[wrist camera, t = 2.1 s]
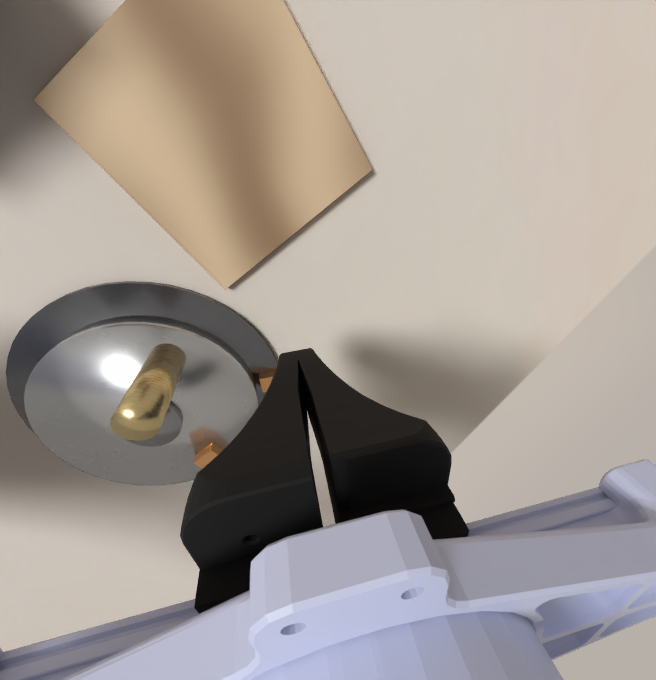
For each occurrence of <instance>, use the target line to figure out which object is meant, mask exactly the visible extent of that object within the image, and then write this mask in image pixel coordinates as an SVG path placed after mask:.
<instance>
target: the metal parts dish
mask: <svg viewBox="0 0 656 680" xmlns="http://www.w3.org/2000/svg"><path fill="white" fill-rule="evenodd" d="M131 315H143V316H157V317H165V318H170V319H174V320H179V321H182V322H185V323H189V324H192V325H195V326H197V327H199V328H201V329H204V330H206V331H208V332H210V333H211V334H213V335H215V336H217V337H218V338H220V339H221V340H223V341H224V342H225V343H227V344H228V345H229V346H231V347H232V348H233V349H234V350H235V351H236V352H237V353H238V354H239V355H240V356H241V358H242V359H243V360H244V361H245V363H246V364H247V366H248V367H249V369H250V371H251V373H252V374H253V377H254V380H255V383H256V387H257V392H258V406H259V404H260V403H261V401H262V399H263V397H264V395H265V393H266V392H267V390H268V388H269V386H270V383H271V381H272V378H273V376H274V374H275V371H276V368H277V365H278V364H277V361H276V359H275V357H274V355H273V352H272V350H271V349H270V347H269V346H268V344H267V343H266V341H265V340H264V338H263V337H262V336H261V335H260V334H259V333H258V332H257V330H256V329H255V328H254V327H253V326H252V325H251V324H250V323H248V322H247V321H246V320H245V319H244V318H243V317H241V316H240V315H239V314H237V313H236V312H234V311H233V310H231V309H230V308H228V307H227V306H225V305H223V304H221V303H219V302H217V301H215V300H213V299H211V298H209V297H207V296H204V295H202V294H199V293H196V292H194V291H191V290H188V289H184V288H180V287H176V286H172V285H166V284H159V283H152V282H131V281H126V282H115V283H105V284H100V285H96V286H91V287H86V288H83V289H80V290H78V291H75V292H72V293H69V294H67V295H65V296H63V297H61V298H59V299H57V300H55V301H53V302H52V303H50V304H48V305H47V306H45V307H44V308H43V309H41V310H40V311H39V312H37V313H36V314H35V315H34V316H32V317H31V318H30V319H29V321H28V322H27V323H26V324H25V325H24V326H23V327H22V328H21V329H20V331H19V333H18V334H17V336H16V338H15V340H14V341H13V343H12V346H11V349H10V352H9V355H8V359H7V368H6V376H7V386H8V389H9V393H10V396H11V399H12V402H13V404H14V406H15V407H16V409H17V411H18V413H19V415H20V416H21V418H22V419H23V420H24V422H25V423H26V424H27V426H28V427H29V428H30V429H31V430H32V431H33V429H32V427H31V425H30V423H29V421H28V418H27V415H26V411H25V404H24V394H25V387H26V384H27V381H28V378H29V376H30V374H31V372H32V371H33V369H34V367H35V366H36V364H37V363H38V362H39V361H40V360H41V359H42V358H43V357H44V356H45V355H46V354H47V353H48V352H49V351H50V350H51V349H52V348H54V347H55V346H56V345H57V344H58V343H59V342H61V341H62V340H63V339H65V338H66V337H67V336H69V335H70V334H71V333H73V332H75V331H77V330H78V329H80V328H82V327H84V326H86V325H89V324H92V323H95V322H97V321H100V320H105V319H109V318H114V317H122V316H131ZM33 432H34V431H33ZM34 433H35V432H34Z"/></svg>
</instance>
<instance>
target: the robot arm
mask: <svg viewBox="0 0 656 680" xmlns="http://www.w3.org/2000/svg"><path fill="white" fill-rule="evenodd" d="M307 412H308V415H309V418H310V421H311V425H312V428H313V431H314V434H315V437H316V440H317V444H318V447H319V450H320V453H321V457H322V461H323V465H324V470H325V475H326V479H327V484H328V489H329V494H330V499H331V503H332V508H333V513H334V518H335V523H336V524H334V525H330V526H326V527H323V525H322V519H321V513H320V508H319V502H318V497H317V491H316V486H315V480H314V475H313V469H312V462H311V454H310V442H309V430H308V418H307ZM450 468H451V454H450V452H449V450H448V448H447V446H446V445H445V443H444V442H443V441H442V439H441V438H440V437H439V435H438V434H437V433H436V432H435V431H434V430H433V428H432V427H431V426H430V425H429V424H428V423H427V422H426V421H425V420H422V419H419V418H415V417H412V416H409V415H406V414H403V413H400V412H397V411H395V410H392V409H390V408H387V407H385V406H383V405H381V404H379V403H377V402H375V401H373V400H371V399H369V398H367V397H365V396H364V395H362V394H360V393H359V392H357V391H356V390H354V389H353V388H352V387H350V386H349V385H348V384H346V383H345V382H344V381H343V380H341V379H340V378H339V377H338V376H337V375H335V374H334V373H333V372H332V371H331V370H330V369H329V368H328V367H327V366H326V365H325V364H324V363H323V362H322V360H321V359H320V358H319V357H318V356H317V355H316V353H315V352H314V350H313V349H311V348H308V349H303V350H298V351H292V352H287V353H282V354H281V355H280V356H279V361H278V365H277V368H276V371H275V374H274V376H273V378H272V381H271V383H270V386H269V388H268V390H267V392H266V393H265V395H264V397H263V399H262V401H261V403H260V404H259V406H258V408H257V409H256V411H255V412H254V414H253V415H252V417H251V418H250V419H249V421H248V422H247V424H246V425H245V426H244V428H243V429H242V430H241V431H240V432H239V434H238V435H237V436H236V437H235V438H234V439H233V440H232V441H231V442H230V444H229V445H228V446H227V447H226V448H225V449H224V450H223V451H222V452H221V453H220V454H219V455H217V456H216V457H215V458H214V459H213V460H212V461H211V462H210V463H208V464H207V465H206V466H205V467H204V468H203V469H202V470H200V471H199V472H198V473H197V474H196V477H195V480H194V482H193V485H192V488H191V491H190V493H189V496H188V499H187V503H186V507H185V512H184V517H183V521H182V526H181V533H180V537H181V539H182V542H183V544H184V546H185V547H186V549H187V550H188V552H189V553H190V555H191V556H192V558H193V559H194V561H195V562H196V564H197V565H198V567H199V568H200V572H199V578H198V585H197V592H196V598H195V599H194V600H190V601H186V602H183V603H179V604H176V605H172V606H168V607H165V608H161V609H158V610H154V611H150V612H147V613H143V614H140V615H136V616H132V617H129V618H125V619H122V620H118V621H114V622H111V623H107V624H104V625H100V626H96V627H93V628H89V629H86V630H82V631H78V632H75V633H71V634H68V635H64V636H60V637H57V638H53V639H50V640H46V641H42V642H39V643H35V644H31V645H28V646H24V647H21V648H17V649H13V650H10V651H6V652H3V651H2V649H0V680H563V678H562V676H561V675H560V673H559V672H558V670H557V668H556V666H555V665H554V663H553V661H552V660H554V659H556V658H558V657H561V656H563V655H565V654H568V653H570V652H572V651H574V650H576V649H579V648H581V647H584V646H586V645H588V644H591V643H593V642H595V641H598V640H600V639H602V638H605V637H607V636H609V635H612V634H614V633H616V632H619V631H621V630H623V629H626V628H628V627H630V626H633V625H635V624H637V623H640V622H642V621H644V620H647V619H650V618H652V617H655V616H656V465H655V464H653V463H652V462H651V461H649V460H641V461H637V462H633V463H629V464H625V465H622V466H618V467H615V468H613V469H611V470H609V471H608V472H607V473H606V474H605V475H604V476H603V478H602V479H601V481H600V483H599V487H597V488H593V489H590V490H586V491H583V492H579V493H576V494H572V495H569V496H565V497H561V498H557V499H554V500H551V501H547V502H543V503H540V504H536V505H532V506H529V507H525V508H521V509H518V510H515V511H511V512H507V513H503V514H500V515H496V516H493V517H489V518H485V519H482V520H479V521H475V522H471V523H467V524H465V522H464V520H463V518H462V517H461V515H460V513H459V512H458V510H457V508H456V506H455V505H454V503H453V502H455V498H454V495H453V493H452V492H451V490H450V489H449V487H448V480H449V474H450Z"/></svg>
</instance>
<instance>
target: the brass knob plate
mask: <svg viewBox="0 0 656 680" xmlns="http://www.w3.org/2000/svg"><path fill="white" fill-rule="evenodd" d="M24 404H25V411H26V415H27V418H28V421H29V423H30V425H31V427H32V429H33V431H34V432H35V434H36V435H37V437H38V438H39V439H40V441H41V442H42V443H43V444H44V445H45V446H46V447H47V448H48V449H49V450H50V451H51V452H53V453H54V454H55V455H56V456H58V457H59V458H60V459H62V460H63V461H65V462H67V463H68V464H70V465H71V466H73V467H75V468H77V469H79V470H81V471H83V472H86V473H88V474H91V475H94V476H96V477H100V478H103V479H107V480H110V481H115V482H120V483H126V484H134V485H167V484H175V483H181V482H186V481H190V480H194V479H195V477H196V474H197V473H198V472H199V471H200V470H202V469H203V468H204V467H205V466H206V465H207V464H208V463H210V462H211V461H212V460H213V459H214V458H215V457H216V456H217V455H219V454H220V453H221V452H222V451H223V450H224V449H225V448H226V447H227V446H228V445H229V444H230V442H231V441H232V440H233V439H234V438H235V437H236V436H237V435H238V434H239V432H240V431H241V430H242V429H243V428H244V426H245V425H246V424H247V422H248V421H249V419H250V418H251V417H252V415H253V414H254V412H255V411H256V409H257V408H258V392H257V387H256V383H255V380H254V377H253V374H252V373H251V371H250V369H249V367H248V366H247V364H246V363H245V361H244V360H243V359H242V358H241V356H240V355H239V354H238V353H237V352H236V351H235V350H234V349H233V348H232V347H231V346H229V345H228V344H227V343H225V342H224V341H223V340H221V339H220V338H218V337H217V336H215V335H213V334H211V333H210V332H208V331H206V330H204V329H201V328H199V327H197V326H195V325H192V324H189V323H185V322H182V321H179V320H174V319H170V318H165V317H157V316H143V315H131V316H122V317H114V318H109V319H105V320H100V321H97V322H95V323H92V324H89V325H86V326H84V327H82V328H80V329H78V330H77V331H75V332H73V333H71V334H70V335H69V336H67V337H66V338H65V339H63V340H62V341H61V342H59V343H58V344H57V345H56V346H55V347H54V348H52V349H51V350H50V351H49V352H48V353H47V354H46V355H45V356H44V357H43V358H42V359H41V360H40V361H39V362H38V363H37V364H36V366H35V367H34V369H33V371H32V372H31V374H30V376H29V378H28V381H27V384H26V387H25V394H24Z"/></svg>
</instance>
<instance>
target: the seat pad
mask: <svg viewBox="0 0 656 680" xmlns="http://www.w3.org/2000/svg"><path fill="white" fill-rule="evenodd" d="M33 100H34V101H35V102H36V103H37V104H38V105H39V106H40V107H41V108H42V109H43V110H44V111H45V112H46V113H47V114H48V115H49V116H50V117H51V118H52V119H53V120H54V121H55V122H56V123H57V124H58V125H59V126H60V127H61V128H62V129H63V130H64V131H65V132H66V133H67V134H68V135H69V136H70V137H71V138H72V139H73V140H74V141H75V142H76V143H77V144H78V145H79V146H80V147H81V148H82V149H83V150H84V151H85V152H86V153H87V154H88V155H89V156H90V157H91V158H92V159H93V160H94V161H95V162H96V163H97V164H99V165H100V166H101V167H102V168H103V169H104V170H105V171H106V172H107V173H108V174H109V175H110V176H111V177H112V178H113V179H114V180H115V181H116V182H117V183H118V184H119V185H120V186H121V187H122V188H123V189H124V190H125V191H126V192H127V193H128V194H129V195H130V196H131V197H132V198H133V199H134V200H135V201H136V202H137V203H138V204H139V205H140V206H141V207H142V208H143V209H144V210H145V211H146V212H147V213H148V214H149V215H150V216H151V217H152V218H153V219H154V220H155V221H156V222H157V223H158V224H159V225H160V226H161V227H162V228H163V229H164V230H165V231H166V232H167V233H168V234H169V235H170V236H171V237H172V238H173V239H174V240H175V241H176V242H177V243H178V244H179V245H180V246H181V247H182V248H183V249H184V250H185V251H186V252H187V253H188V254H189V255H190V256H191V257H192V258H193V259H194V260H195V261H196V262H198V263H199V264H200V265H201V266H202V267H203V268H204V269H205V270H206V271H207V272H208V273H209V274H210V275H211V276H212V277H213V278H214V279H215V280H216V281H217V282H218V283H219V284H220V285H221V286H222V287H223V288H224V289H225V290H226V289H227V288H228V287H229V286H230V285H232V284H233V283H234V282H235V281H237V280H238V279H239V278H240V277H241V276H243V275H244V274H245V273H246V272H248V271H249V270H250V269H251V268H252V267H254V266H255V265H256V264H257V263H259V262H260V261H261V260H262V259H264V258H265V257H266V256H267V255H268V254H270V253H271V252H272V251H273V250H275V249H276V248H277V247H278V246H279V245H281V244H282V243H283V242H284V241H286V240H287V239H288V238H289V237H290V236H292V235H293V234H294V233H295V232H297V231H298V230H299V229H300V228H301V227H303V226H304V225H305V224H306V223H308V222H309V221H310V220H311V219H312V218H314V217H315V216H316V215H317V214H319V213H320V212H321V211H322V210H323V209H325V208H326V207H327V206H328V205H330V204H331V203H332V202H333V201H334V200H336V199H337V198H338V197H339V196H341V195H342V194H343V193H344V192H345V191H347V190H348V189H349V188H350V187H352V186H353V185H354V184H355V183H356V182H358V181H359V180H360V179H361V178H363V177H364V176H365V175H366V174H367V173H369V172H370V171H371V170H372V167H371V165H370V163H369V161H368V159H367V157H366V156H365V154H364V152H363V150H362V148H361V146H360V144H359V142H358V140H357V139H356V137H355V135H354V133H353V131H352V129H351V127H350V125H349V123H348V121H347V120H346V118H345V116H344V114H343V112H342V110H341V108H340V106H339V104H338V103H337V101H336V99H335V97H334V95H333V93H332V91H331V89H330V87H329V85H328V84H327V82H326V80H325V78H324V76H323V74H322V72H321V70H320V68H319V67H318V65H317V63H316V61H315V59H314V57H313V55H312V53H311V51H310V49H309V48H308V46H307V44H306V42H305V40H304V38H303V36H302V34H301V32H300V31H299V29H298V27H297V25H296V23H295V21H294V19H293V17H292V15H291V13H290V12H289V10H288V8H287V6H286V4H285V2H284V0H126V1H125V2H124V3H123V4H122V5H121V6H120V7H119V8H118V9H117V10H116V11H115V12H114V14H113V15H112V16H111V17H110V18H109V19H108V20H107V21H106V22H105V23H104V24H103V25H102V26H101V28H100V29H99V30H98V31H97V32H96V33H95V34H94V35H93V36H92V37H91V38H90V39H89V40H88V41H87V43H86V44H85V45H84V46H83V47H82V48H81V49H80V50H79V51H78V52H77V53H76V54H75V55H74V56H73V58H72V59H71V60H70V61H69V62H68V63H67V64H66V65H65V66H64V67H63V68H62V69H61V70H60V72H59V73H58V74H57V75H56V76H55V77H54V78H53V79H52V80H51V81H50V82H49V83H48V84H47V85H46V87H45V88H44V89H43V90H42V91H41V92H40V93H39V94H38V95H37V96H36V97H35V98H34V99H33Z"/></svg>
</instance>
